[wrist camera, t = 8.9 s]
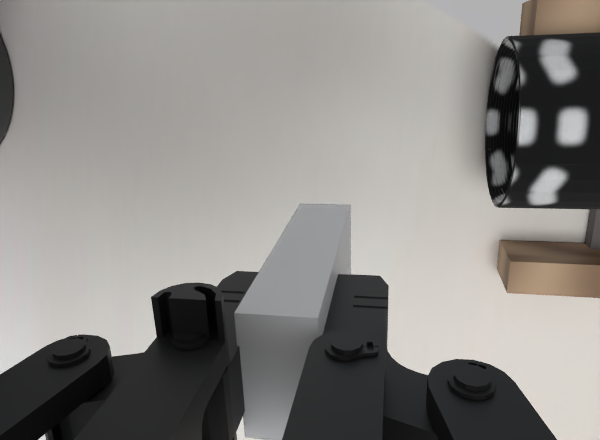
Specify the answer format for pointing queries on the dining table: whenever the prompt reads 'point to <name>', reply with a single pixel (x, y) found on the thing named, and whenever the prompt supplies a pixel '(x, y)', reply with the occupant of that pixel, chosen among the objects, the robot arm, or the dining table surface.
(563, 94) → the spotted tube
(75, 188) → the dining table surface
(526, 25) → the cradle
